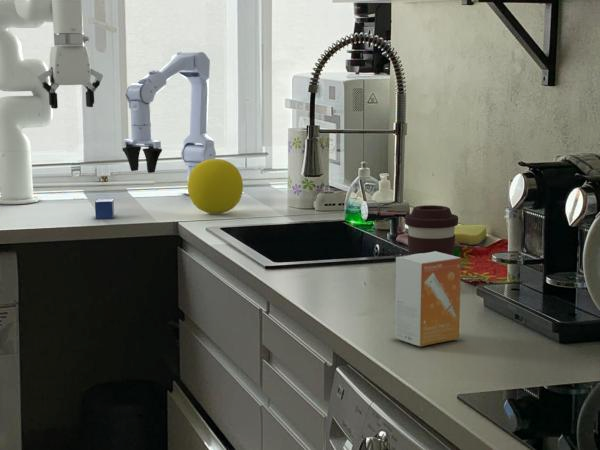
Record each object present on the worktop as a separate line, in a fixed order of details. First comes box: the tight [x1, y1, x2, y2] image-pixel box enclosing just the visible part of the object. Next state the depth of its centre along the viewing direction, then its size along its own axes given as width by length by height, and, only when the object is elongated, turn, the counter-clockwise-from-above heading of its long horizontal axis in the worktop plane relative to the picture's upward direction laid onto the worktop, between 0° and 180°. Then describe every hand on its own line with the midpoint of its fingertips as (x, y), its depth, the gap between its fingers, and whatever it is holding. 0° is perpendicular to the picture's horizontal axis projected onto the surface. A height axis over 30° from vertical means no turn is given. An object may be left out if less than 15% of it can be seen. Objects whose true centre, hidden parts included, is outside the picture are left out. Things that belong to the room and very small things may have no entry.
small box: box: [394, 251, 462, 347], centre depth 161 cm, size 8×6×13 cm
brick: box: [94, 198, 115, 220], centre depth 284 cm, size 5×5×5 cm
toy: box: [187, 158, 244, 215], centre depth 287 cm, size 15×15×15 cm
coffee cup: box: [404, 204, 459, 256], centre depth 197 cm, size 10×10×15 cm
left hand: (72, 107), depth 273 cm, fingers open, 9 cm apart
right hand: (142, 171), depth 305 cm, fingers open, 7 cm apart
